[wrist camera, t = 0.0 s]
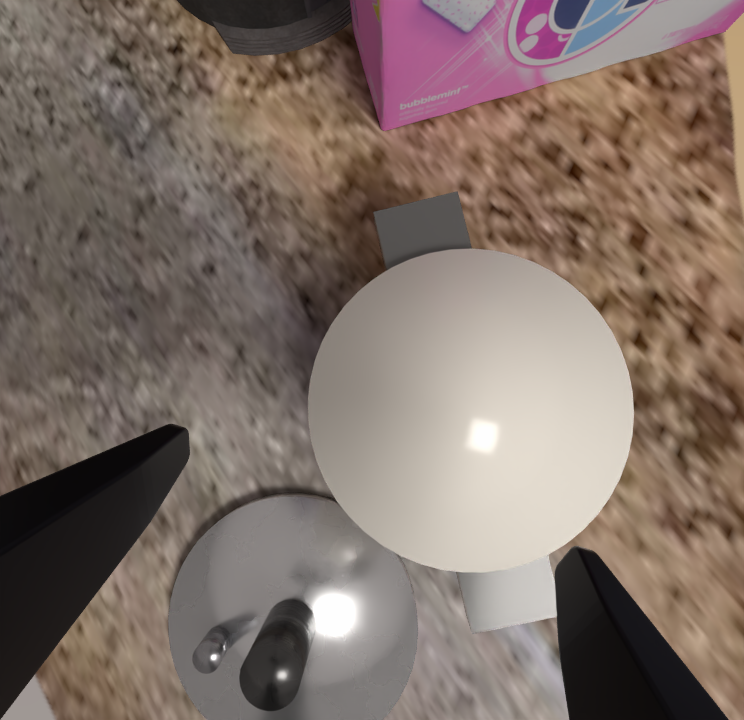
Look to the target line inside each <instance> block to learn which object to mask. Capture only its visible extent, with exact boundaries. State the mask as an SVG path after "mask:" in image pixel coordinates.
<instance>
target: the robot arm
mask: <svg viewBox="0 0 744 720" xmlns="http://www.w3.org/2000/svg"><path fill="white" fill-rule="evenodd" d="M189 455H190V447H189V433H188V430H187V429H186V428H184V427H181V426H178V425H174V424H168V425H165V426H162V427H160V428H158V429H155V430H153V431H151V432H148V433H146V434H144V435H141V436H139V437H137V438H134V439H132V440H130V441H127V442H125V443H123V444H120V445H118V446H116V447H113V448H111V449H109V450H106V451H104V452H102V453H99V454H97V455H95V456H92V457H90V458H88V459H85V460H83V461H81V462H78V463H76V464H74V465H71V466H69V467H67V468H64V469H62V470H60V471H57V472H55V473H53V474H50V475H48V476H46V477H43V478H41V479H39V480H36V481H34V482H32V483H29V484H27V485H25V486H22V487H20V488H18V489H15V490H13V491H11V492H8V493H6V494H4V495H1V496H0V719H1V718H2V717H3V715H4V714H5V713H6V711H7V710H8V709H9V707H10V706H11V705H12V704H13V702H14V701H15V700H16V698H17V697H18V696H19V694H20V693H21V692H22V690H23V689H24V688H25V686H26V685H27V684H28V683H29V681H30V680H31V679H32V677H33V676H34V675H35V673H36V672H37V671H38V669H39V668H40V667H41V665H42V664H43V663H44V662H45V660H46V659H47V658H48V656H49V655H50V654H51V652H52V651H53V650H54V648H55V647H56V646H57V644H58V643H59V642H60V640H61V639H62V638H63V637H64V635H65V634H66V633H67V631H68V630H69V629H70V627H71V626H72V625H73V623H74V622H75V621H76V619H77V618H78V617H79V615H80V614H81V613H82V612H83V610H84V609H85V608H86V606H87V605H88V604H89V602H90V601H91V600H92V598H93V597H94V596H95V594H96V593H97V592H98V590H99V589H100V588H101V587H102V585H103V584H104V583H105V581H106V580H107V579H108V577H109V576H110V575H111V573H112V572H113V571H114V569H115V568H116V567H117V566H118V564H119V563H120V562H121V560H122V559H123V558H124V556H125V555H126V554H127V552H128V551H129V550H130V548H131V547H132V546H133V544H134V543H135V542H136V541H137V539H138V538H139V537H140V535H141V534H142V533H143V531H144V530H145V529H146V527H147V526H148V524H149V523H150V522H151V520H152V518H153V517H154V515H155V514H156V512H157V511H158V509H159V507H160V506H161V504H162V503H163V501H164V499H165V498H166V496H167V494H168V493H169V491H170V490H171V488H172V486H173V485H174V483H175V481H176V480H177V478H178V476H179V475H180V473H181V472H182V470H183V468H184V467H185V465H186V463H187V461H188V459H189ZM555 593H556V611H557V628H558V643H559V654H560V662H561V669H562V675H563V682H564V688H565V694H566V701H567V707H568V714H569V720H729V719H728V718H727V717H726V716H725V714H724V713H723V712H722V711H721V709H720V708H719V707H718V706H717V704H716V703H715V702H714V700H713V699H712V698H711V697H710V695H709V694H708V693H707V692H706V690H705V689H704V688H703V687H702V685H701V684H700V683H699V682H698V680H697V679H696V678H695V677H694V675H693V674H692V673H691V671H690V670H689V669H688V668H687V666H686V665H685V664H684V663H683V661H682V660H681V659H680V658H679V656H678V655H677V654H676V653H675V651H674V650H673V649H672V648H671V646H670V645H669V644H668V643H667V641H666V640H665V639H664V637H663V636H662V635H661V634H660V632H659V631H658V630H657V629H656V627H655V626H654V625H653V624H652V622H651V621H650V620H649V619H648V617H647V616H646V615H645V614H644V612H643V611H642V610H641V608H640V607H639V606H638V605H637V603H636V602H635V601H634V600H633V598H632V597H631V596H630V595H629V593H628V592H627V591H626V590H625V588H624V587H623V586H622V585H621V583H620V582H619V581H618V580H617V578H616V577H615V576H614V574H613V573H612V572H611V571H610V569H609V568H608V567H607V566H606V564H605V563H604V562H603V561H602V559H601V558H600V557H599V556H598V555H597V553H595V552H594V551H592V550H589V549H586V548H583V547H579V546H574V547H572V548H571V549H570V550H569V551H568V552H567V554H566V555H565V556H564V557H563V559H562V560H561V561H560V562H559V563H558V565H557V567H556V569H555Z"/></svg>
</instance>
